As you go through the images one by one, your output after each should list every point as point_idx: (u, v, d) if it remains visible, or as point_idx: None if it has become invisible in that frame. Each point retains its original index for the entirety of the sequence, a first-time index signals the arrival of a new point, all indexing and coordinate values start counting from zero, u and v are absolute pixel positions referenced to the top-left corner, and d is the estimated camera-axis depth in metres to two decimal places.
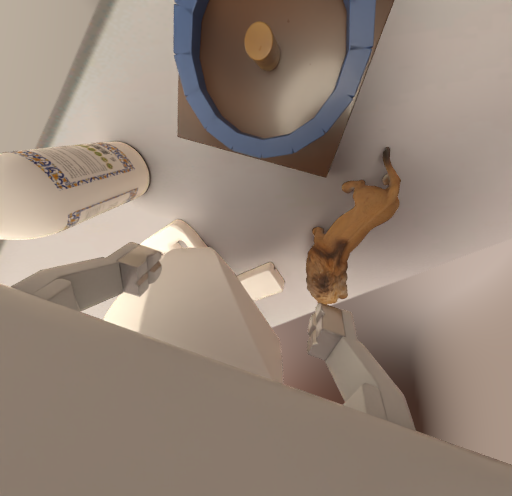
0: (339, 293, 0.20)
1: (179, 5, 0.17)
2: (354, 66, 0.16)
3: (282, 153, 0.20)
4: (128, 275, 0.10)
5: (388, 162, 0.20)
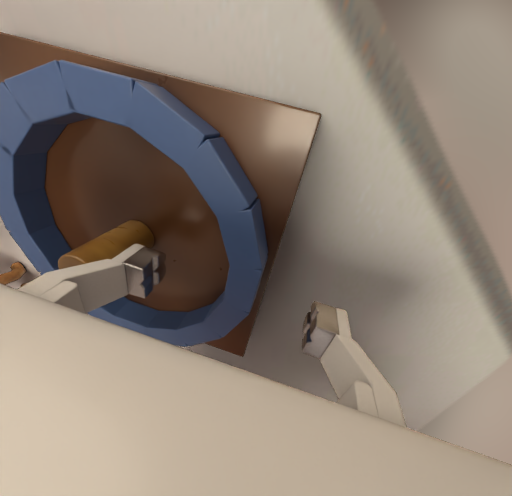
0: None
1: (131, 95, 0.08)
2: (134, 330, 0.15)
3: (30, 259, 0.14)
4: (133, 277, 0.10)
5: None
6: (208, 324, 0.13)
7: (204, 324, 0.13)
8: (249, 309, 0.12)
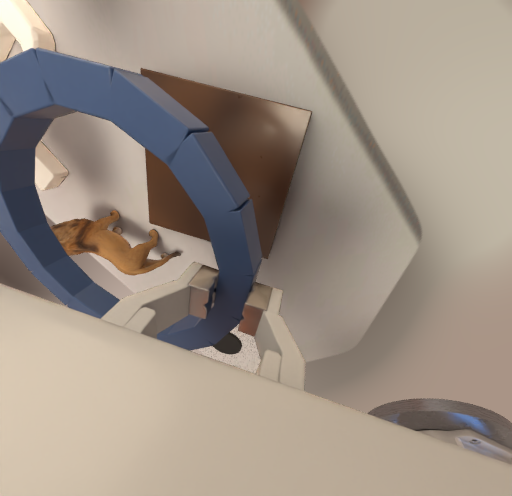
0: None
1: (110, 84, 0.07)
2: None
3: (21, 258, 0.14)
4: (197, 298, 0.09)
5: (169, 257, 0.31)
6: (199, 331, 0.12)
7: (195, 331, 0.12)
8: None
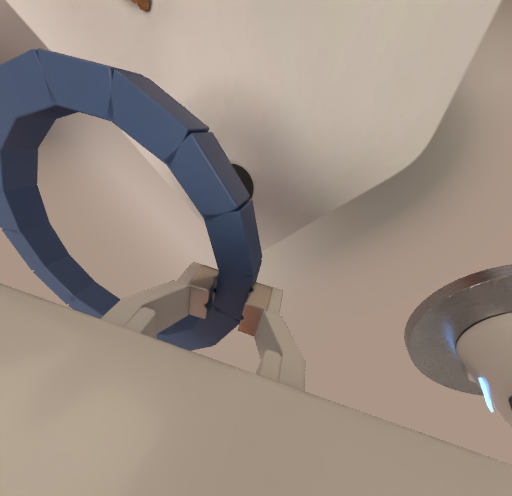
0: None
1: (111, 85, 0.07)
2: None
3: (23, 257, 0.14)
4: (197, 298, 0.09)
5: None
6: (199, 331, 0.12)
7: (195, 331, 0.12)
8: (240, 317, 0.11)
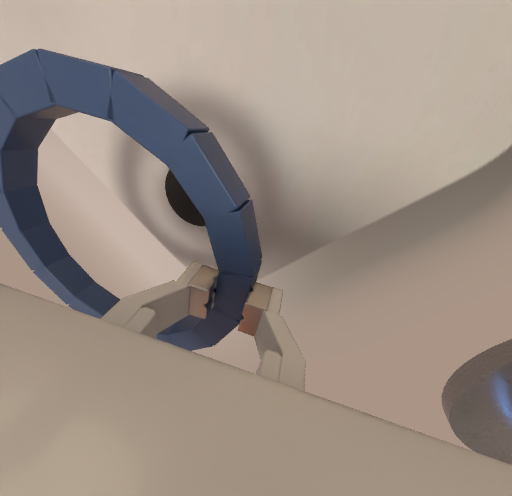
0: None
1: (110, 85, 0.07)
2: None
3: (23, 257, 0.14)
4: (197, 298, 0.09)
5: None
6: (198, 331, 0.12)
7: (195, 331, 0.12)
8: (240, 318, 0.11)
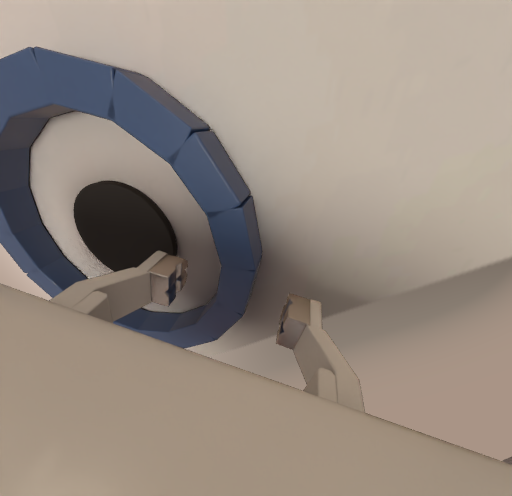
0: None
1: (112, 84, 0.07)
2: None
3: (15, 260, 0.13)
4: (158, 285, 0.09)
5: None
6: (201, 327, 0.13)
7: (197, 327, 0.13)
8: (243, 311, 0.11)
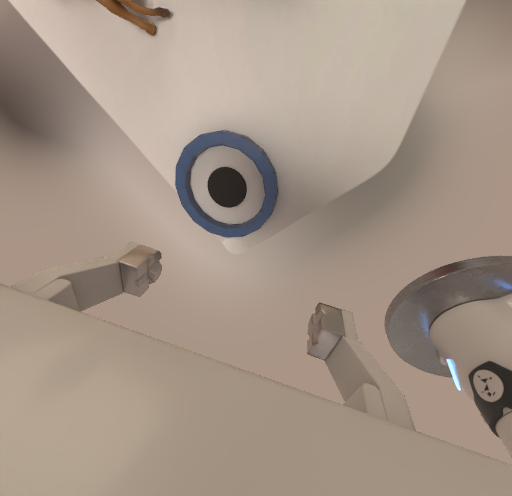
0: None
1: (242, 140, 0.28)
2: (219, 231, 0.36)
3: (180, 199, 0.34)
4: (128, 275, 0.10)
5: (154, 10, 0.23)
6: (254, 222, 0.34)
7: (252, 223, 0.34)
8: (271, 212, 0.32)
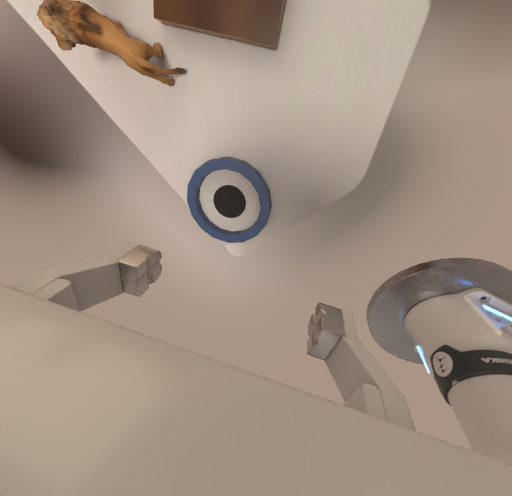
0: (54, 28, 0.25)
1: (241, 166, 0.35)
2: (223, 237, 0.43)
3: (191, 211, 0.41)
4: (128, 275, 0.10)
5: (174, 70, 0.31)
6: (252, 230, 0.40)
7: (250, 230, 0.41)
8: (265, 222, 0.39)
